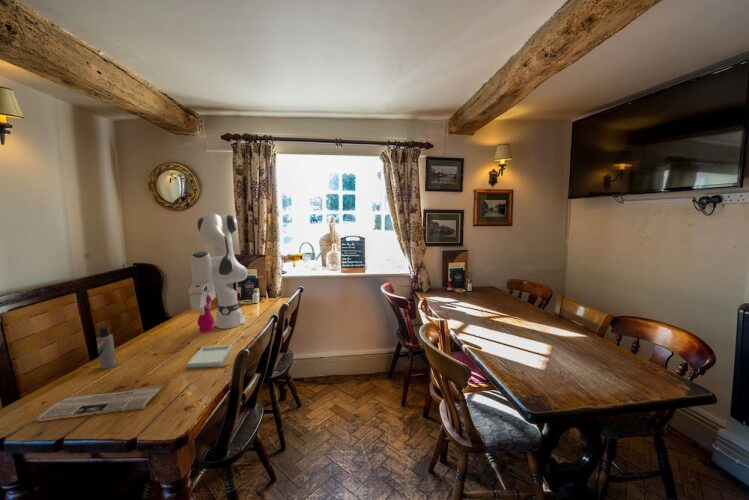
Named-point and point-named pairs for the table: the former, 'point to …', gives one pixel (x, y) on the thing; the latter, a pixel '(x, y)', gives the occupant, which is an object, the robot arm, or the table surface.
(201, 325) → the pepper mill
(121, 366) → the table surface
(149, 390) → the newspaper
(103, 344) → the lotion bottle
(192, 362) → the tray
